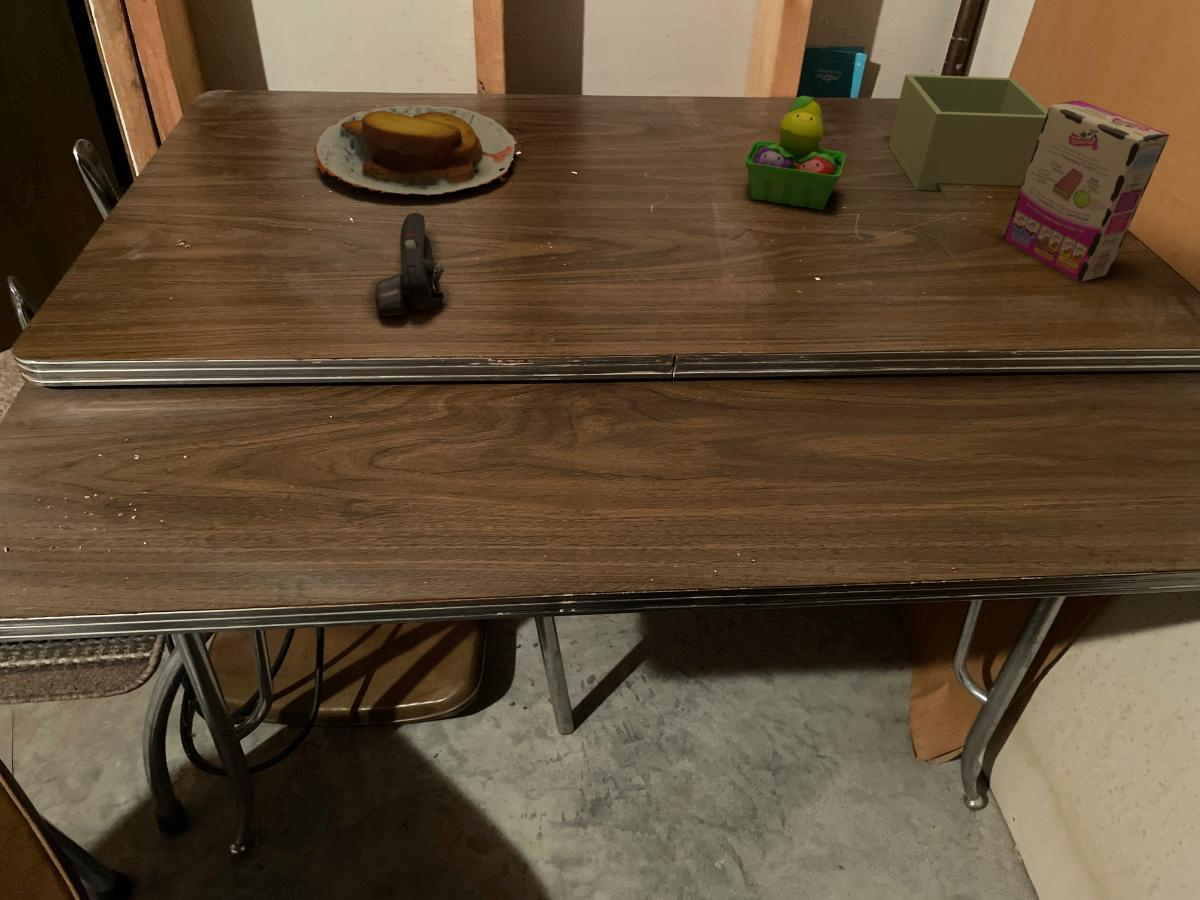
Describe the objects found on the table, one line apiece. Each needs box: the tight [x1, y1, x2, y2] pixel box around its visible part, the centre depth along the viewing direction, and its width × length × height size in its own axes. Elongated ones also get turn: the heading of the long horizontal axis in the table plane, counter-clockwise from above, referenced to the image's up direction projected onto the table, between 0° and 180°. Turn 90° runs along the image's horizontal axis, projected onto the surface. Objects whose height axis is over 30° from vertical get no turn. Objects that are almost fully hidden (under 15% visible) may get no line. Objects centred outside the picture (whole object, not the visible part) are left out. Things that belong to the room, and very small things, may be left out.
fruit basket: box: [744, 95, 847, 211], centre depth 111 cm, size 11×9×11 cm
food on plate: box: [313, 104, 520, 196], centre depth 115 cm, size 25×25×7 cm
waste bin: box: [887, 73, 1048, 192], centre depth 119 cm, size 15×15×10 cm
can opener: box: [374, 212, 446, 316], centre depth 93 cm, size 18×7×6 cm, turn 5°
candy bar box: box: [1003, 99, 1170, 283], centre depth 98 cm, size 11×5×16 cm, turn 27°
